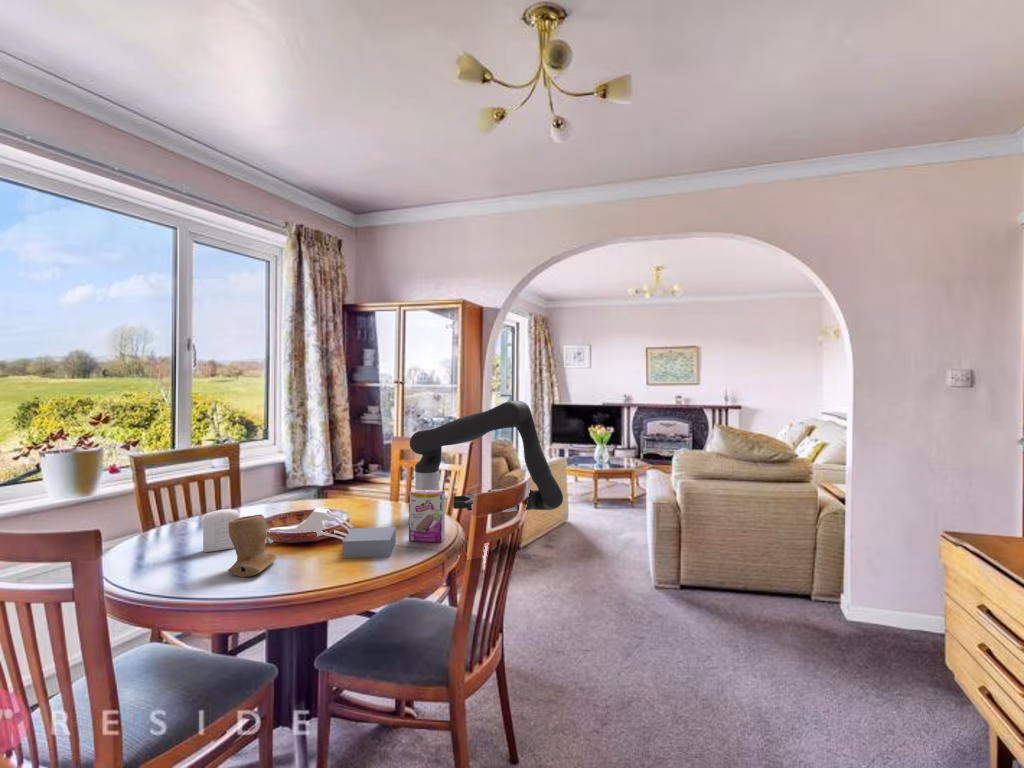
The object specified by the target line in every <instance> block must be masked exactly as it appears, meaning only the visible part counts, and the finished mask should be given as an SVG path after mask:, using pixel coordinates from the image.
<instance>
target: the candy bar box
mask: <svg viewBox="0 0 1024 768" xmlns="http://www.w3.org/2000/svg"><path fill="white" fill-rule="evenodd" d="M445 493H446V490H443V489H442V490H440V489H439V490H415V489H412V490H410V491H409V492H408V542H409V543H410V542H411V543H413V542H414V543H436V542H438V543H442V542H443V541H444V540H445V537H446V534H445V533H446V531H445V530H446V529H445V527H446V525H445V524H446V523H445V522H446V517H445V516H446V514H445V513H446V510H445V508H446V507H445V505H446V504H445V503H446V502H445V500H446V495H445Z"/></svg>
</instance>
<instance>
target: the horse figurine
mask: <svg viewBox="0 0 1024 768" xmlns="http://www.w3.org/2000/svg"><path fill="white" fill-rule="evenodd" d="M328 522H335V523H337V524H338V525H340V526H341V527H342V528H344V529H345V530H346V531H347V532H348V533H349V532H350V530H351V529H352V528H354V525H352V524H350V523H349V522H348V521H346V520H345V519H344V518H343V517H342V516H341V515H339V514H338V513H333V512H332V511H330V508H329V509H328V508H325V507H324V508H323V507H316V508H314V510H313V511H312V512H311V513H310V515H309V516H308V517H307V518H306V519H305V520H303V521H302V522H301V523H300V524H298V525H292V526H279V527H270V528H269V529H268V531H267V532H269V533H270V532H277V531H284V532H303V531H313V532H316V533H317V537H316V538H318V537H320V536H327V537H332V538H337V539H339V540H342V541H343V540H344V539H345V537H346V536H347V535H348V533H346V532H342V531H338V530H336V529H333V530H334V533H330V532H327V531H325V532H323V531H322V529H323V528H326V525H327V523H328ZM342 522H343V523H342ZM344 523H345V524H344ZM346 525H347V526H348V527H347V526H346ZM336 534H339V535H336ZM340 535H341V536H340ZM343 536H344V537H343ZM266 539H267V540H268V543H269V544H273V542H274V541H273V540H271V539H270V538H268V537H267V536H266Z"/></svg>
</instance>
